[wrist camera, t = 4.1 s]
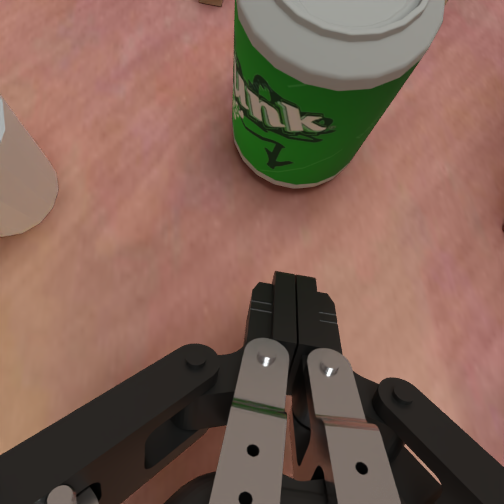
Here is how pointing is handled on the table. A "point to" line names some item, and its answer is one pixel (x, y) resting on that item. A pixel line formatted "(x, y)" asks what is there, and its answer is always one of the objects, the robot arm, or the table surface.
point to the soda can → (320, 79)
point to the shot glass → (22, 177)
